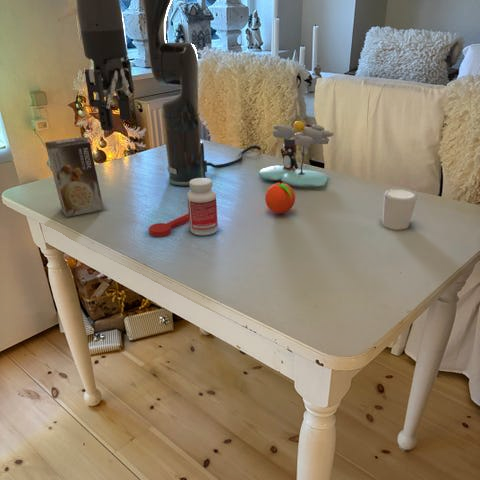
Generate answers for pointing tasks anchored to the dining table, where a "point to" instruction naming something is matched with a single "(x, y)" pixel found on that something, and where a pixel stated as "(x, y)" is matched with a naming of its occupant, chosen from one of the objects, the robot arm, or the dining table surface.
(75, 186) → the coffee box
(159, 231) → the spoon
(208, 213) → the pill bottle
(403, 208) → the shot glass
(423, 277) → the dining table surface
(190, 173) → the robot arm
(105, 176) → the dining table surface
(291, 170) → the penguin figurine
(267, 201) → the clementine
